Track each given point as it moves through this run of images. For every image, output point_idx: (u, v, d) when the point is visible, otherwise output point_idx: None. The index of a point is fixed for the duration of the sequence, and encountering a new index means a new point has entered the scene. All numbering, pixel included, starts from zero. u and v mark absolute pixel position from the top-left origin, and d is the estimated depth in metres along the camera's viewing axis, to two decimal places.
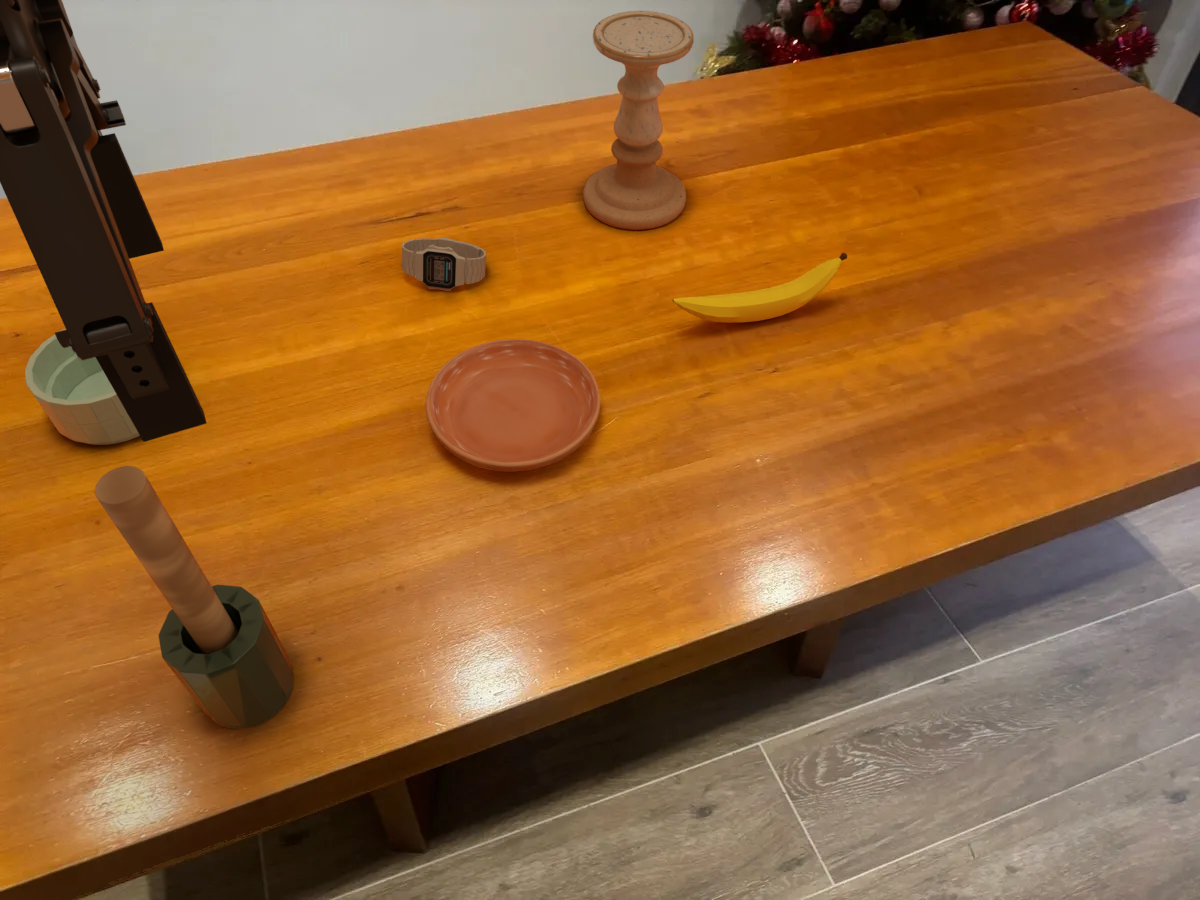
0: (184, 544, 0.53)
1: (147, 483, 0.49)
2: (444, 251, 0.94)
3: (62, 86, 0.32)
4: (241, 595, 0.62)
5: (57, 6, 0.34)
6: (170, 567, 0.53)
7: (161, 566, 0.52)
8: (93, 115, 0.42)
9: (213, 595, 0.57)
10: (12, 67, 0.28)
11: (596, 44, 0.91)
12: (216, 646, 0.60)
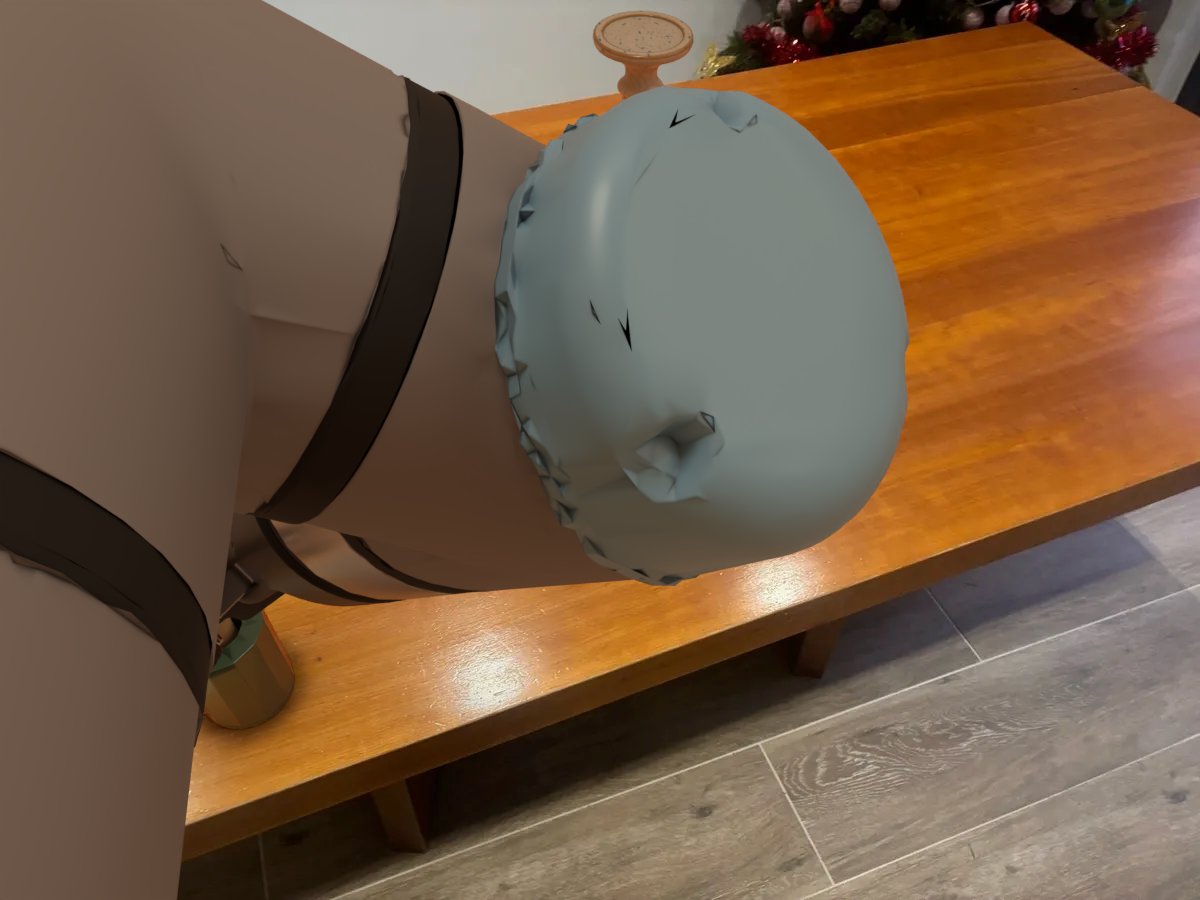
0: None
1: None
2: None
3: None
4: None
5: None
6: None
7: None
8: None
9: None
10: None
11: (596, 44, 0.91)
12: None
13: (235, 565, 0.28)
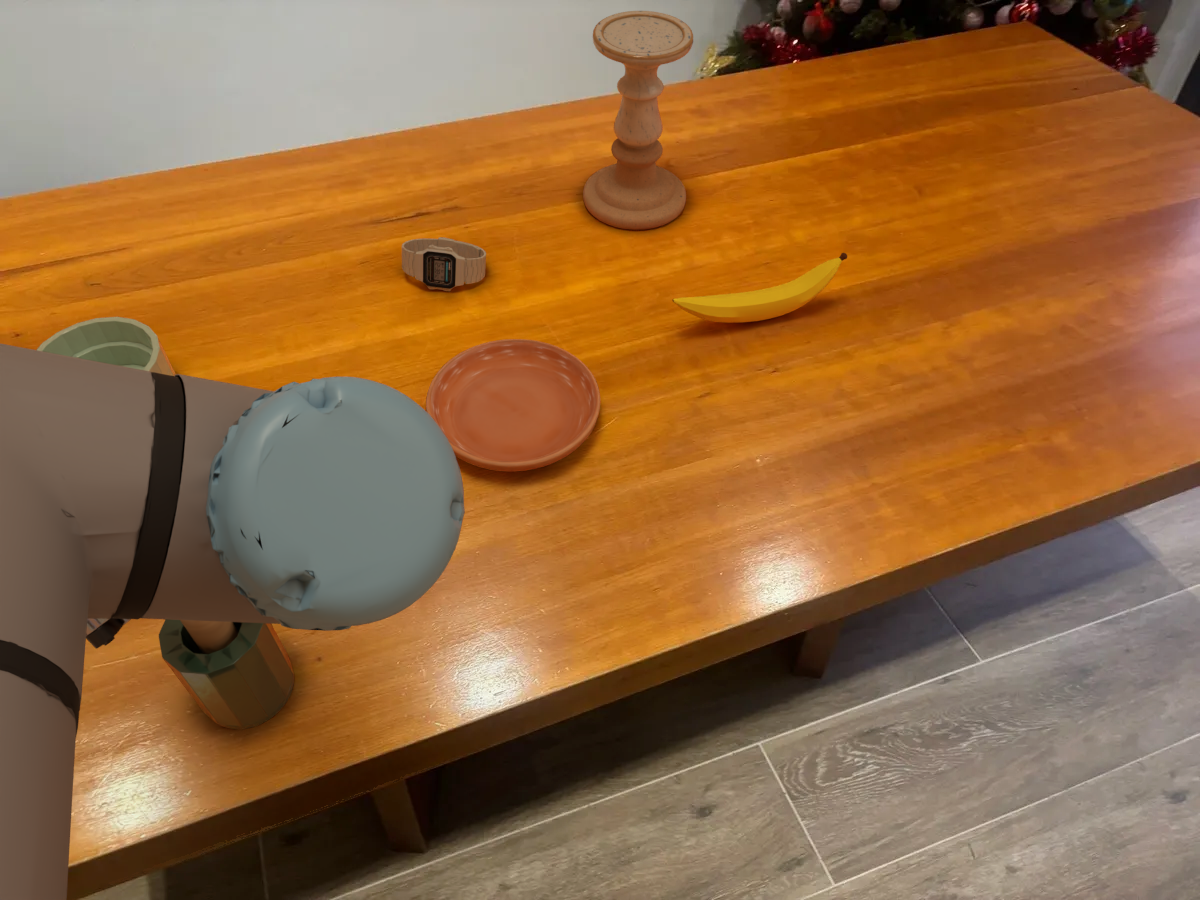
0: None
1: None
2: (444, 251, 0.94)
3: None
4: None
5: None
6: None
7: None
8: None
9: None
10: (89, 636, 0.40)
11: (596, 44, 0.91)
12: (216, 646, 0.60)
13: None
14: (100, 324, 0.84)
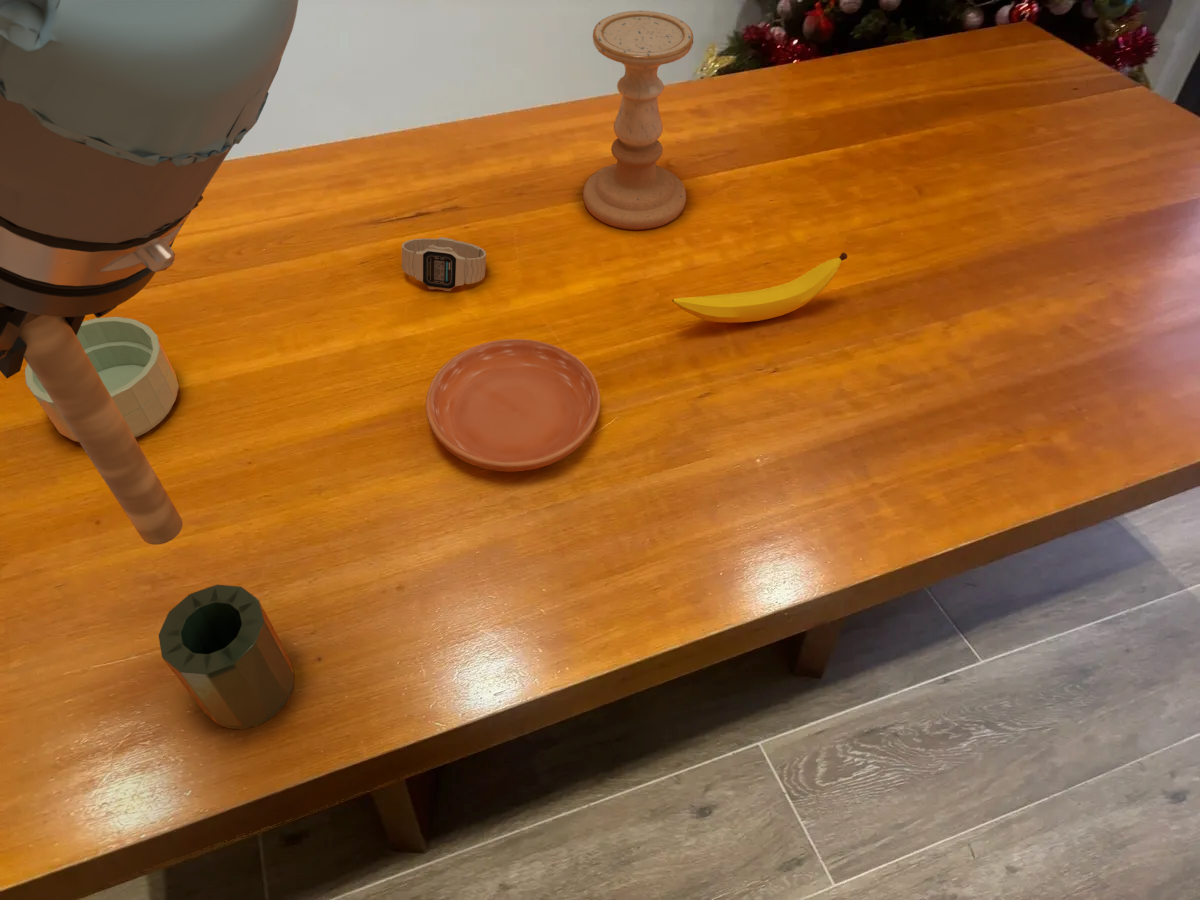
0: (63, 318, 0.45)
1: None
2: (444, 251, 0.94)
3: None
4: (241, 595, 0.62)
5: None
6: (44, 342, 0.45)
7: (33, 339, 0.44)
8: None
9: (106, 397, 0.49)
10: None
11: (596, 44, 0.91)
12: (115, 464, 0.52)
13: None
14: (100, 324, 0.84)
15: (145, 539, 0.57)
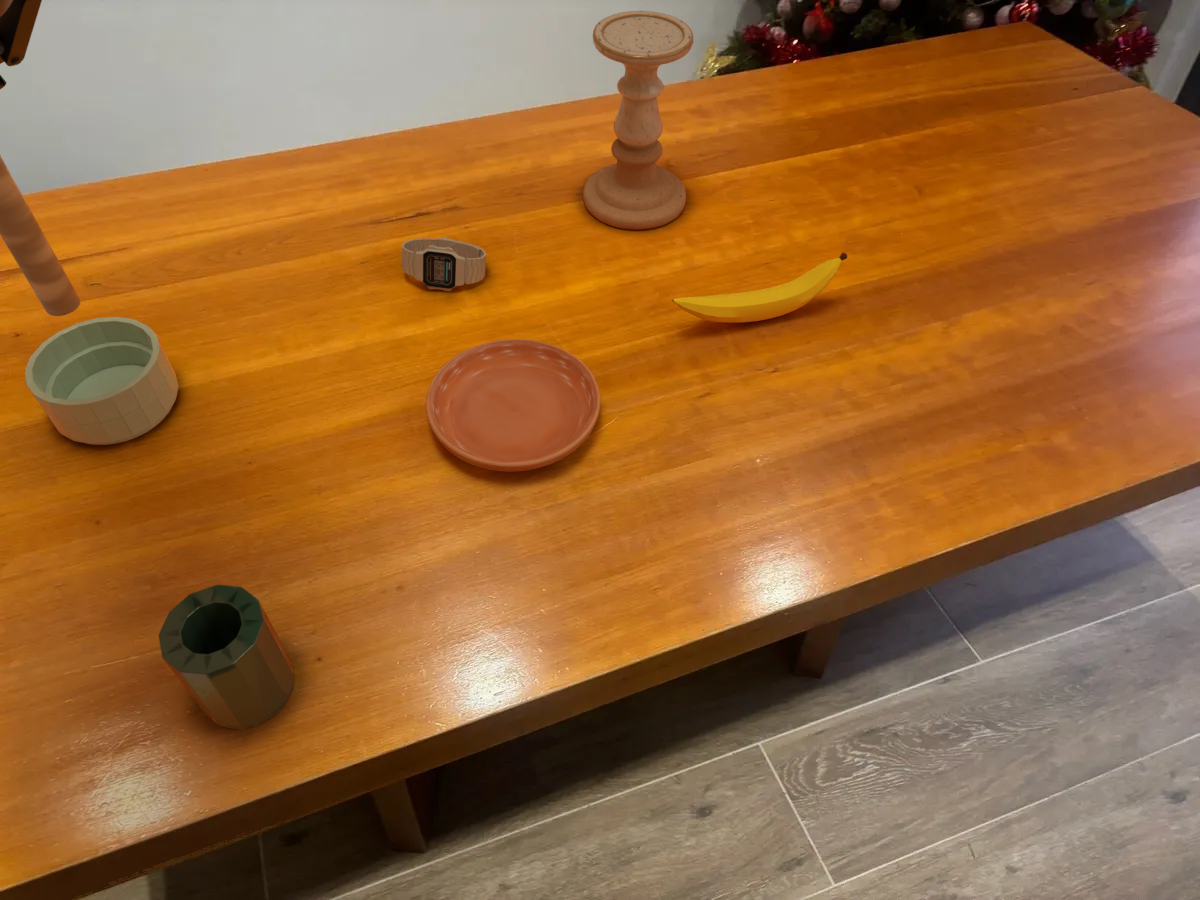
0: None
1: None
2: (444, 251, 0.94)
3: None
4: (241, 595, 0.62)
5: None
6: None
7: None
8: None
9: (5, 169, 0.63)
10: None
11: (596, 44, 0.91)
12: (15, 231, 0.65)
13: None
14: (100, 324, 0.84)
15: (48, 311, 0.71)
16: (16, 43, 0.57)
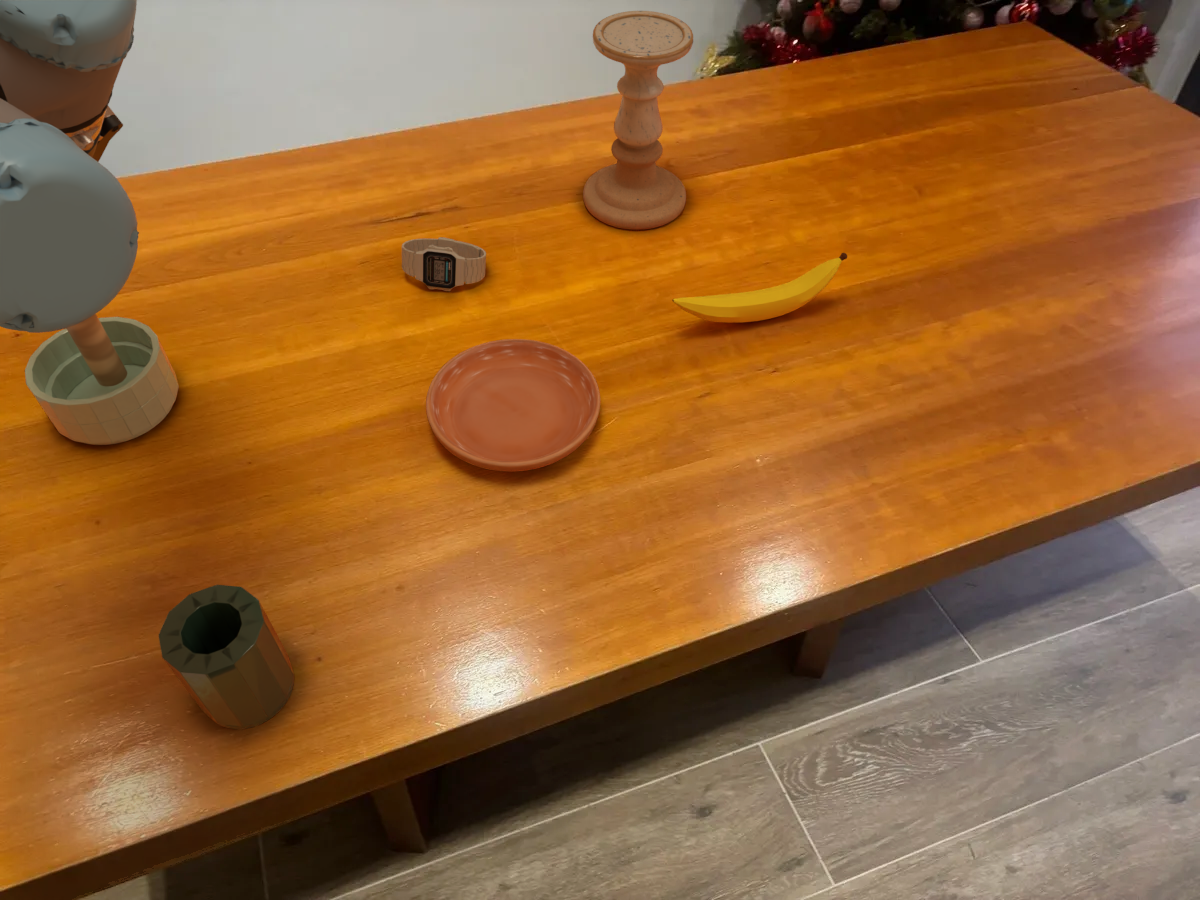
0: None
1: None
2: (444, 251, 0.94)
3: None
4: (241, 595, 0.62)
5: None
6: None
7: None
8: None
9: None
10: None
11: (596, 44, 0.91)
12: None
13: None
14: None
15: (100, 382, 0.82)
16: None
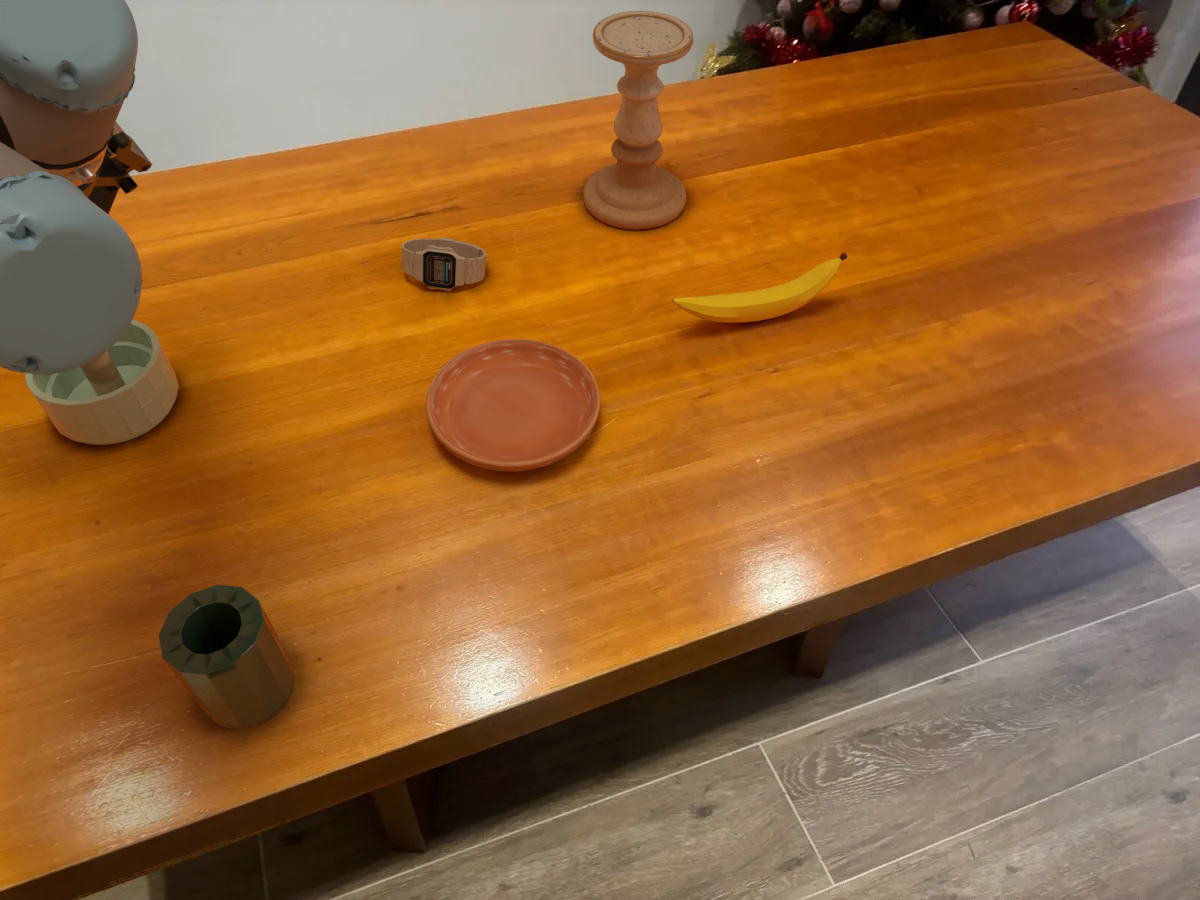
0: None
1: None
2: (444, 251, 0.94)
3: None
4: (241, 595, 0.62)
5: None
6: None
7: None
8: None
9: None
10: None
11: (596, 44, 0.91)
12: None
13: None
14: None
15: None
16: (134, 166, 0.69)
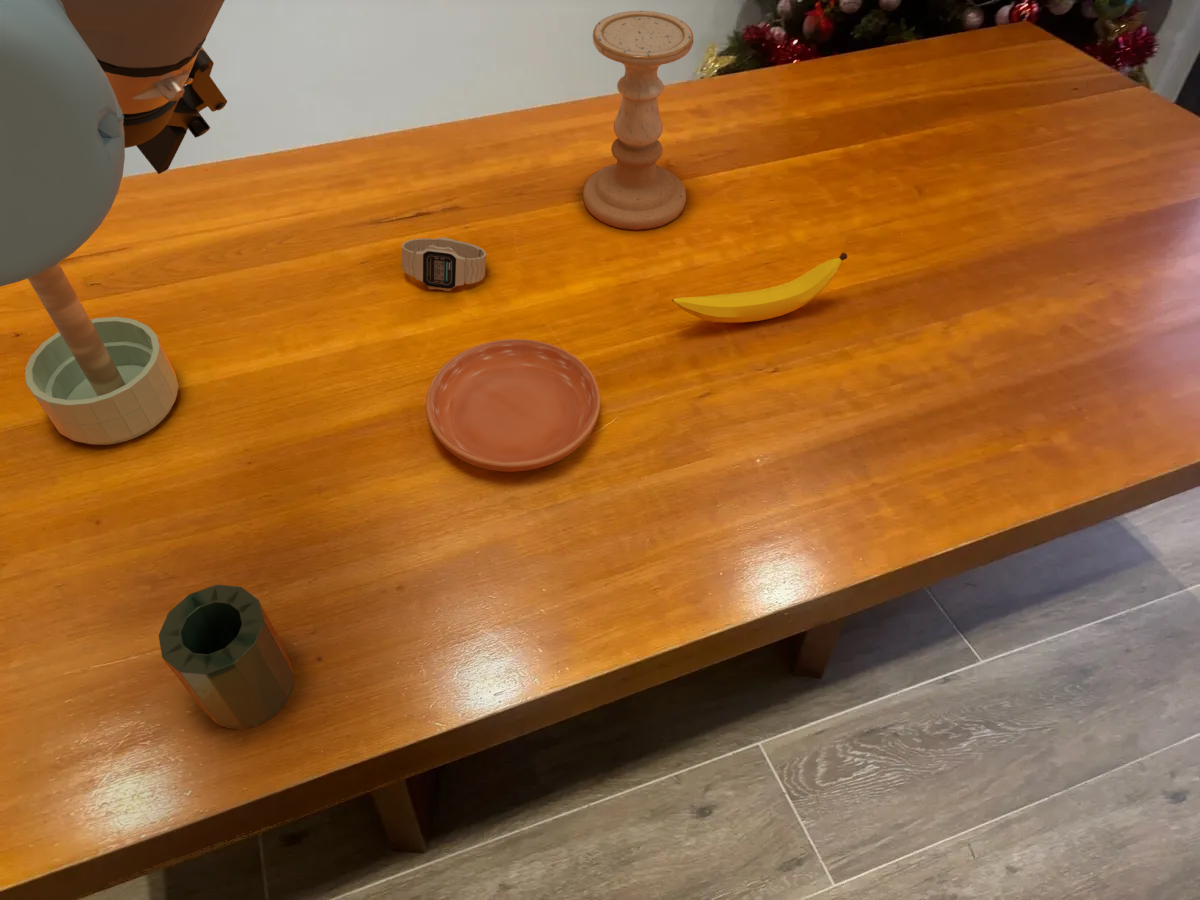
0: None
1: None
2: (444, 251, 0.94)
3: None
4: (241, 595, 0.62)
5: None
6: None
7: None
8: None
9: (74, 296, 0.75)
10: None
11: (596, 44, 0.91)
12: (81, 344, 0.78)
13: None
14: (100, 324, 0.84)
15: None
16: (209, 101, 0.56)
